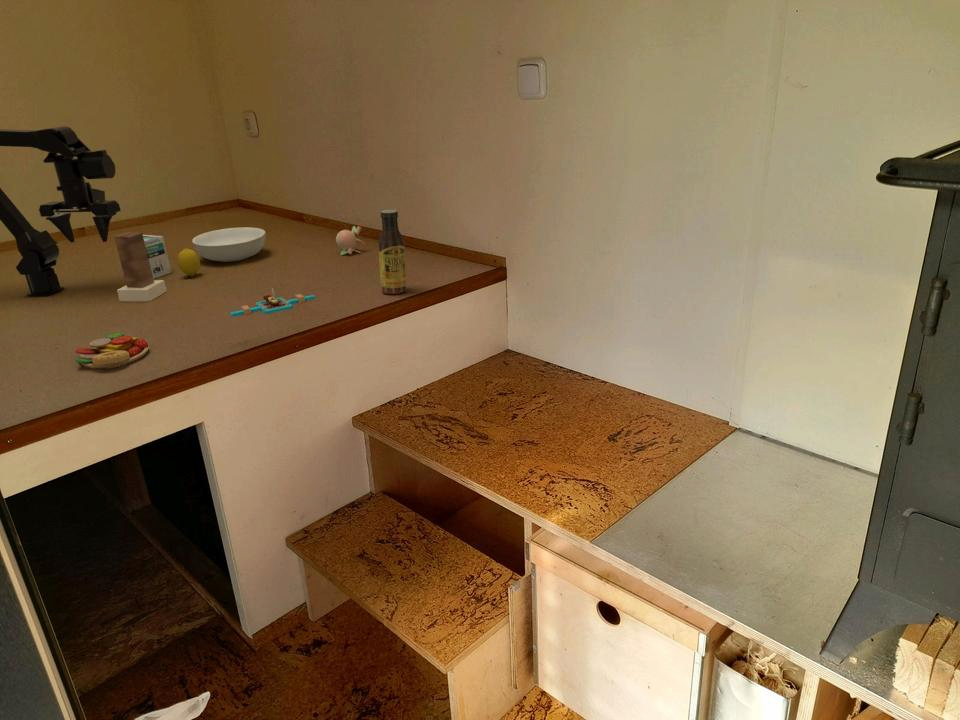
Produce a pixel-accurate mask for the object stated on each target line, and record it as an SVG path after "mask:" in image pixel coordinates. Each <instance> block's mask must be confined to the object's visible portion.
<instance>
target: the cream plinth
mask: <svg viewBox="0 0 960 720" xmlns="http://www.w3.org/2000/svg"><path fill="white" fill-rule="evenodd" d="M116 291H117V296H118V301H119V302H151V301H152V300H155V299H157V298H158V297H160V296H161V295H163V294H165V293H167V286H166V282H165V280H162V279H158V280H157V279H156V280H155V279H154V283H153V284H150V285H148V286H146V287H144V288H127V284H126V285H124V286H122V287H121V288H118V289H117V290H116Z"/></svg>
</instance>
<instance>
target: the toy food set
mask: <svg viewBox="0 0 960 720" xmlns="http://www.w3.org/2000/svg"><path fill="white" fill-rule="evenodd" d="M149 347H150V346H149V344H148V342H147V341H146V340H145V339H144V338H138V337H134V336H130V335H125V334H124V333H123V332H114V333H109V334H106V336H104V337H103V338H98V339H95V340H92V341H91V342H89V347H81V348H76V349H75V353H76V354H77V355H78V354H79V357H77V358H76V359H75V362H76V363H79V364H80V365H82V366H84V367H86V368H88V367H91V368H90V369H92V368H106V369H111V368H110V367H113V368H116V367H115V366H118V367H120V366H119V365H122V366H124V365H123V364H126V365H128V364H127V363H129V364H131V363H130V362H132V361H134V362H136V361H138V360H140V359H141V358H143V357H144V356H145V355H146V354H147V353H148V350H149V349H150V348H149ZM144 354H145V355H144ZM143 355H144V356H143ZM142 356H143V357H142ZM140 357H141V358H140ZM139 358H140V359H139ZM137 359H138V360H137ZM135 360H136V361H135ZM132 363H133V362H132Z"/></svg>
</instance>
